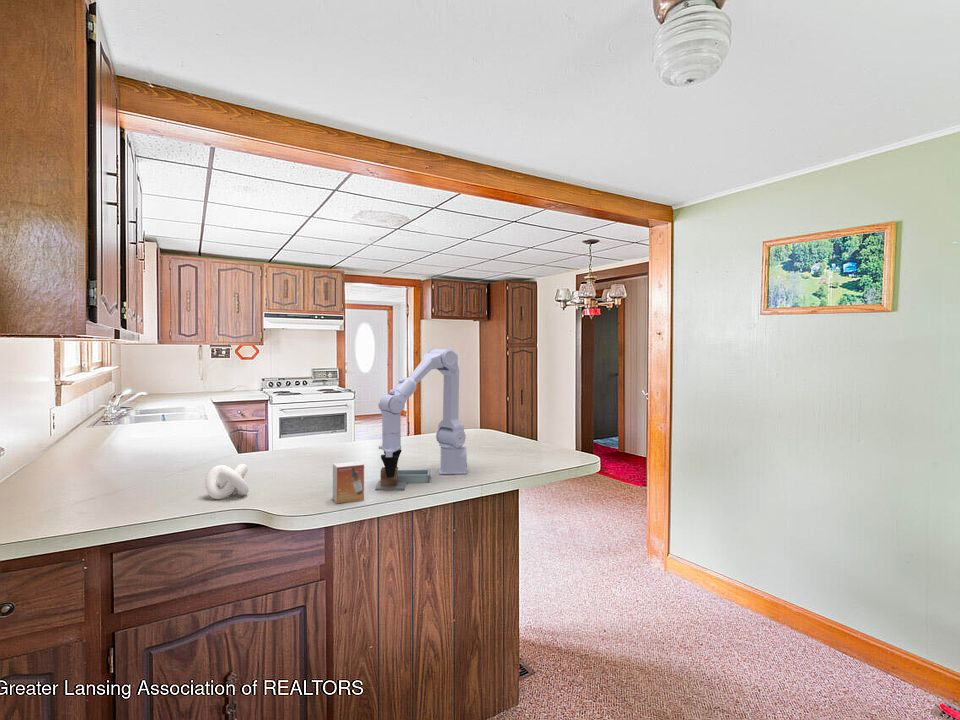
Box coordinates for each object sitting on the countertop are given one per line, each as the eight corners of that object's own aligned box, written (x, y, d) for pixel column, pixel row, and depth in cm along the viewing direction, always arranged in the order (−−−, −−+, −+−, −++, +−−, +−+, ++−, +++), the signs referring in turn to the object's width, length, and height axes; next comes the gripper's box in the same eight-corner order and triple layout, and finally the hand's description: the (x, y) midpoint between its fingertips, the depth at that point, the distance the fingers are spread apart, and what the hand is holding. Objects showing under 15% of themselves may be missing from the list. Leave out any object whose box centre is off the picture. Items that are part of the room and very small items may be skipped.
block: (397, 482, 159) (397, 467, 159) (396, 485, 155) (396, 470, 155) (382, 482, 159) (382, 467, 159) (380, 486, 155) (380, 470, 155)
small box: (336, 504, 139) (336, 467, 139) (332, 498, 144) (332, 463, 144) (364, 500, 143) (364, 464, 142) (359, 495, 148) (359, 460, 147)
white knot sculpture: (261, 494, 148) (261, 464, 148) (222, 505, 138) (222, 473, 137) (239, 488, 154) (239, 459, 154) (200, 498, 144) (200, 467, 144)
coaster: (406, 482, 162) (406, 480, 162) (404, 490, 153) (404, 488, 153) (379, 482, 161) (379, 480, 161) (375, 490, 152) (375, 488, 152)
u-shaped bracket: (430, 476, 168) (430, 469, 168) (429, 482, 161) (429, 475, 161) (385, 477, 167) (385, 470, 167) (383, 483, 160) (383, 475, 160)
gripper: (381, 428, 163) (381, 469, 164) (375, 436, 149) (375, 481, 149) (403, 428, 164) (403, 469, 164) (399, 436, 149) (398, 481, 150)
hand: (391, 474), depth 157 cm, fingers open, 5 cm apart
